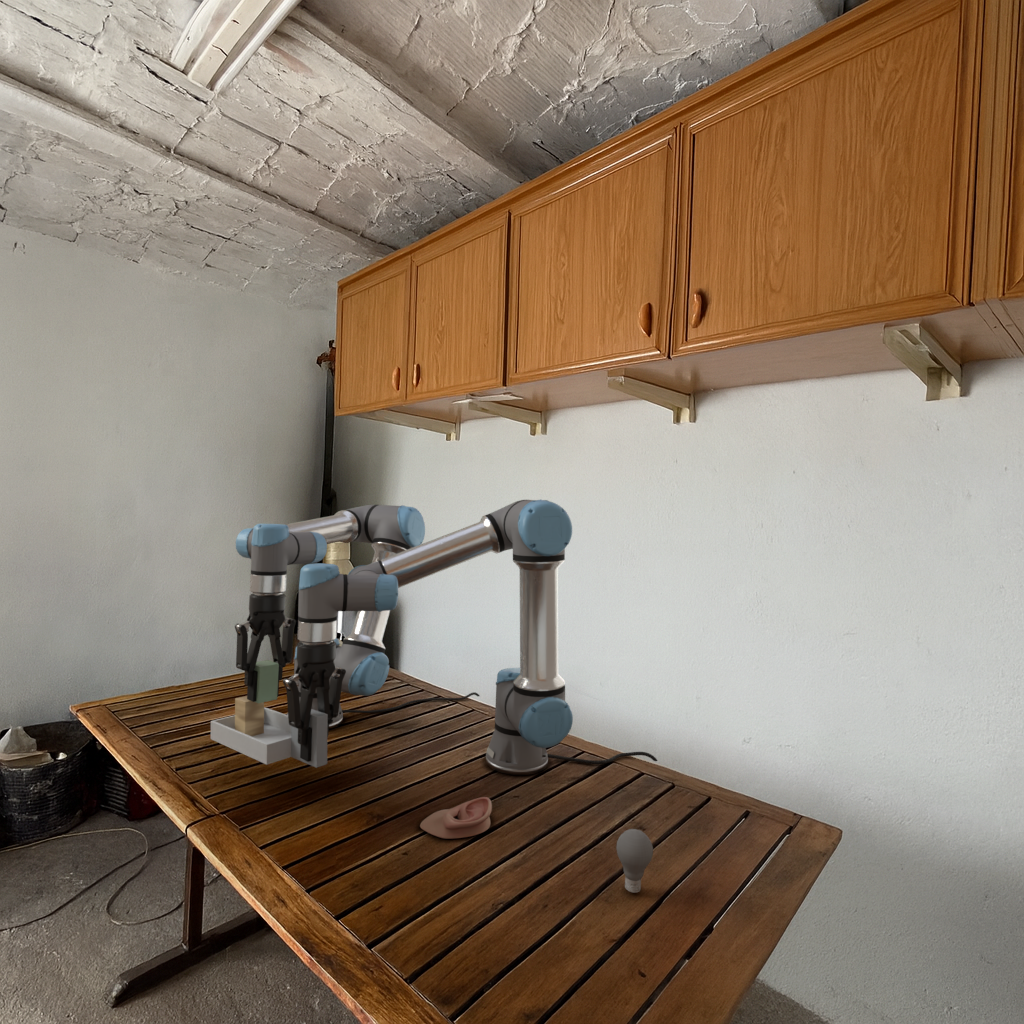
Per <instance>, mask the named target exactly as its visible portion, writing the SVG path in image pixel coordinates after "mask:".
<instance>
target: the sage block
mask: <svg viewBox="0 0 1024 1024" xmlns="http://www.w3.org/2000/svg"><path fill="white" fill-rule="evenodd" d="M255 671H258V677H257V698H256V701H255V702H256V703H263V702H264V703H267V702H272V701H277V700H278V697H277V691H278V671H279V664H278V663H275V662H273V660H270V659H266V660H260V661H257V662H256V666H255Z"/></svg>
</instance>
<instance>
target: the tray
mask: <svg viewBox="0 0 1024 1024" xmlns="http://www.w3.org/2000/svg"><path fill="white" fill-rule="evenodd" d="M327 724H328V714H325V713H322V712H319V711H316V710H313V709H311V715H310V722H309V727H310V728H312V750H311V761H309V762H307V761H305V760H303V759H301V758H300V747H301V744H298V729H297V728H295V727H293V726H291V725H289V720H288V715H287V714H285V713H282V712H279V711H277V710H274V709H271V708H268V707H264V733H262V734H259V735H255V736H249V735H247V734H244V733H242V732H240V731H237V730H235V714H234V715H231V716H226V717H221V718H218V719H213V720H210V740H212V741H213V742H217V743H219V744H221V745H223V746H225V747H226V748H227V747H228V749H229V748H230V749H231V750H233V751H236V752H238V753H240V754H242V755H245V756H246V757H249V758H251V759H253V760H254V761H255V760H256V761H258V762H260V763H262V764H264V765H266V766H267V765H268V766H269V765H270V764H273V763H276V762H280V761H283V760H286V759H289V758H292V759H295V760H297V761H299V762H302V763H303V764H307V765H309V766H311V767H314V768H316V769H318V768H320V767H323V766H326V765H328V737H327Z"/></svg>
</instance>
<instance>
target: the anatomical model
mask: <svg viewBox="0 0 1024 1024" xmlns="http://www.w3.org/2000/svg"><path fill="white" fill-rule="evenodd" d="M492 804H493V803H492V800H491V799H490V798H489V797H487V796H482V797H478V798H474V799H471V800H467V801H465V802H463V803H460V804H459V805H458V804H457V805H456V806H454V807H451V808H446V809H441V810H437V811H435V812H433V813H431V814H430V815H428V816H427V817H426V818H424V819H423V820H422V821H421V822H420V824H419V827H420V829H421V830H423V831H424V832H425V833H428V834H430V835H432V836H434V837H437V838H441V839H446V840H448V839H451V840H453V839H461V838H462V839H463V838H468V837H469V838H470V837H473V836H477V835H480V834H482V833H484V832H486V831H488V829H490V827H491V817H490V816H491V814H492V811H493V805H492Z"/></svg>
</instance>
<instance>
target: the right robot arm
mask: <svg viewBox="0 0 1024 1024" xmlns="http://www.w3.org/2000/svg"><path fill="white" fill-rule="evenodd" d="M572 523H573V522H572V519H571V518H570V515H569V514H568V512H567V511H566V510H565V508H564V507H562V506H561V505H559V504H558V503H556V502H553V501H550V500H548V499H521V500H517V501H514V502H512V503H509V504H507V505H505V506H504V507H501V508H499V509H497V510H494V511H492V512H490V513H488V514H487V513H486V514H484V515H482V516H481V518H480V520H479V522H476V523H474V524H471V525H468V526H465V527H463V528H460V529H458V530H454V531H452V532H449V533H447V534H444V535H442V536H439V537H436V538H434V539H431V540H429V541H426V542H422V544H420V545H418V546H415V547H413V548H410V549H408V550H405V551H402V552H400V553H397V554H394V555H392V556H389V557H387V558H384V559H381V560H379V561H377V562H374V563H372V562H371V563H369V564H361V565H357V566H355V567H353V568H352V569H351V570H350V571H349V572H348V574H346V573H340V569H339V565H337V564H334V563H322V562H321V563H320V562H315V563H311V564H308V563H307V564H303V566H302V567H301V568H300V570H299V571H300V572H299V580H298V605H297V606H298V609H297V611H298V613H297V640H298V642H297V644H296V647H297V663H298V666H297V669H296V671H295V674H294V673H293V675H291V676H290V677H289V678H288V677H285V678H283V679H282V684H283V685H284V688H285V690H286V702H287V703H286V704H287V713H288V720H289V725H291V726H293V727H295V728H297V729H298V744H301V747H300V758H301V759H303V760H305V761H307V762H309V761H311V750H312V728H310V727H309V722H310V715H311V708H312V701H313V695H314V694H315V691H316V690H317V703H318V711H319V712H322V713H325V714H328V724H327V738H328V737H329V734H330V729H329V724H331V723H332V722H333V720H332V718H336V717H337V716H338V711H339V703H340V704H341V702H340V701H341V695H342V692H341V688H342V681H343V678H344V676H345V673H346V670H345V669H342V668H339V667H336V666H335V663H334V659H335V657H336V643H335V641H333V640H335V639H336V638H337V634H338V633H337V631H338V612H358V611H378V612H381V611H387V610H390V611H393V610H395V609H396V608H397V606H398V601H399V589H400V588H402V587H404V586H407V585H410V584H412V583H415V582H417V581H420V580H422V579H425V578H427V577H429V576H433V575H435V574H438V573H441V572H443V571H445V570H448V569H451V568H454V567H455V566H458V565H461V564H463V563H466V562H469V561H471V560H473V559H476V558H478V557H481V556H483V555H486V554H488V553H490V552H492V553H494V554H497V555H498V554H500V553H502V552H505V551H510V550H512V563H514V564H515V565H516V567H518V569H519V667H508V668H502V669H501V670H499V671H498V672H497V675H496V682H495V685H496V687H495V709H494V710H495V711H494V730H493V732H492V736H491V738H490V741H489V744H488V746H487V749H486V751H485V764H486V765H487V767H489V768H490V769H491V770H494V771H495V772H498V773H501V774H506V775H511V776H529V775H534V774H537V773H541V772H542V771H544V770H546V769H547V767H548V766H549V765H548V764H549V759H554V760H560V761H567V762H574V763H579V764H586V765H606V764H609V763H612V762H615V760H617V759H620V758H623V757H634V756H644V757H647V758H650V759H651V760H652V761H653V762H658V761H659V760H658V759H657V757H655V756H654V755H653V754H651V753H649V752H646V751H631V752H622V753H617V754H615V755H614V756H612V757H610V758H606V759H601V760H591V759H583V758H577V757H570V756H563V755H557V754H551V753H550V754H549V753H548V751H547V748H552V747H555V746H557V745H559V744H560V743H561V742H562V741H563V740H564V739H566V737H567V736H568V735H569V733H570V731H571V729H572V726H573V720H574V715H573V711H572V709H571V706H570V705H569V704H568V702H567V701H566V680H565V679H564V678H563V677H562V676H561V675H560V674H559V568H560V567H561V566H562V565H563V563H565V561H566V558H565V555H566V548H567V546H568V545H569V544H570V543H571V539H572V537H573V524H572ZM337 639H338V638H337ZM331 675H332V676H331ZM330 677H331V680H330V684H329V679H330ZM298 681H300V682H301V688H300V691H301V698H300V700H299V690H298V686H299V683H298Z"/></svg>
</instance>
